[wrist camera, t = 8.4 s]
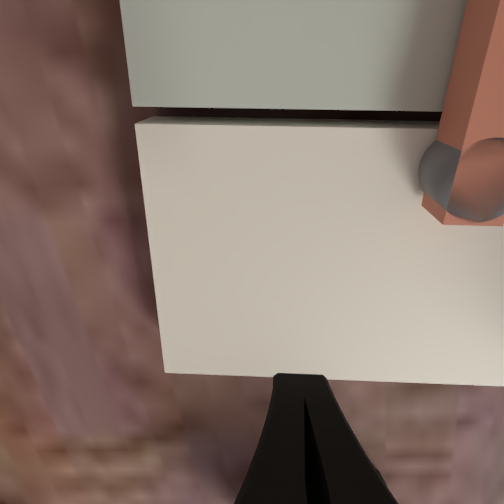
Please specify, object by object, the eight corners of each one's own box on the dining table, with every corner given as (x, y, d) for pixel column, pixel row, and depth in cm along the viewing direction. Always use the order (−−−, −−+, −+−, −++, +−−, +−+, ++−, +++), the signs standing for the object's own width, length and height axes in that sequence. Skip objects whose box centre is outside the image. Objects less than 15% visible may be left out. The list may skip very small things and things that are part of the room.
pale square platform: (751, -320, 10) (1081, -584, 6) (493, 352, 21) (549, 424, 17) (111, -307, 11) (12, -540, 7) (175, 341, 22) (152, 407, 17)
